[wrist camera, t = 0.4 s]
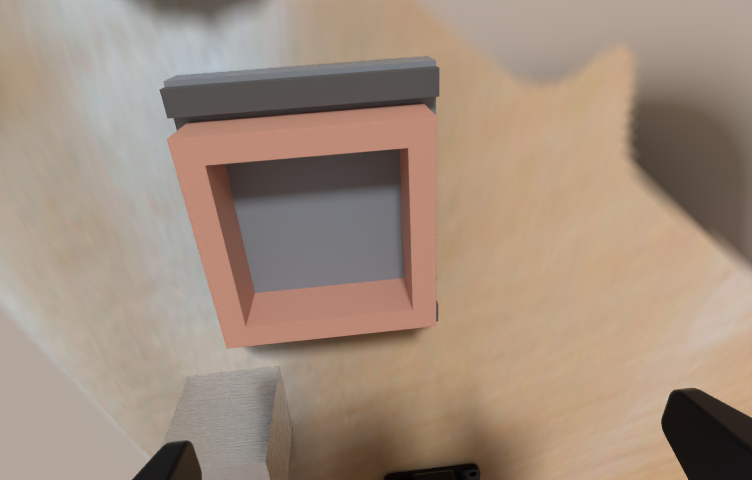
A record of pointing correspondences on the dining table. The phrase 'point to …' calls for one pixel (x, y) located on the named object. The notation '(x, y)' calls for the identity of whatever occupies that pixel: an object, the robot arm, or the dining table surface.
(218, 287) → the frame
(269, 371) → the block
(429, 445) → the dining table surface
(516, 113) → the dining table surface
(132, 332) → the dining table surface
